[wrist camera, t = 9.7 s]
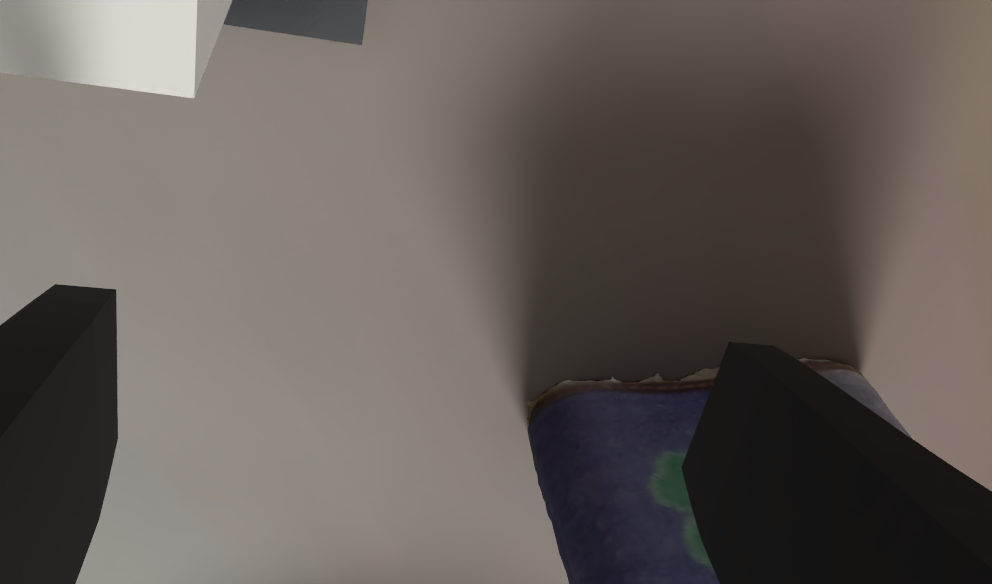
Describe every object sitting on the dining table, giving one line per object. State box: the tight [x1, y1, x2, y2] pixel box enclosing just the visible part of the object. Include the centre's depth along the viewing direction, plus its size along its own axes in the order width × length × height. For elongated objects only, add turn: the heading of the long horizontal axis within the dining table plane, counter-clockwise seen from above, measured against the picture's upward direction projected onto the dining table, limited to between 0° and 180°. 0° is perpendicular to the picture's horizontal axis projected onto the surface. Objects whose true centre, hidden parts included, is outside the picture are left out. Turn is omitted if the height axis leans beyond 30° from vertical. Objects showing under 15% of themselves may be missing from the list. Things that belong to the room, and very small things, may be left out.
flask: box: [527, 358, 911, 584], centre depth 20 cm, size 9×3×11 cm, turn 89°
